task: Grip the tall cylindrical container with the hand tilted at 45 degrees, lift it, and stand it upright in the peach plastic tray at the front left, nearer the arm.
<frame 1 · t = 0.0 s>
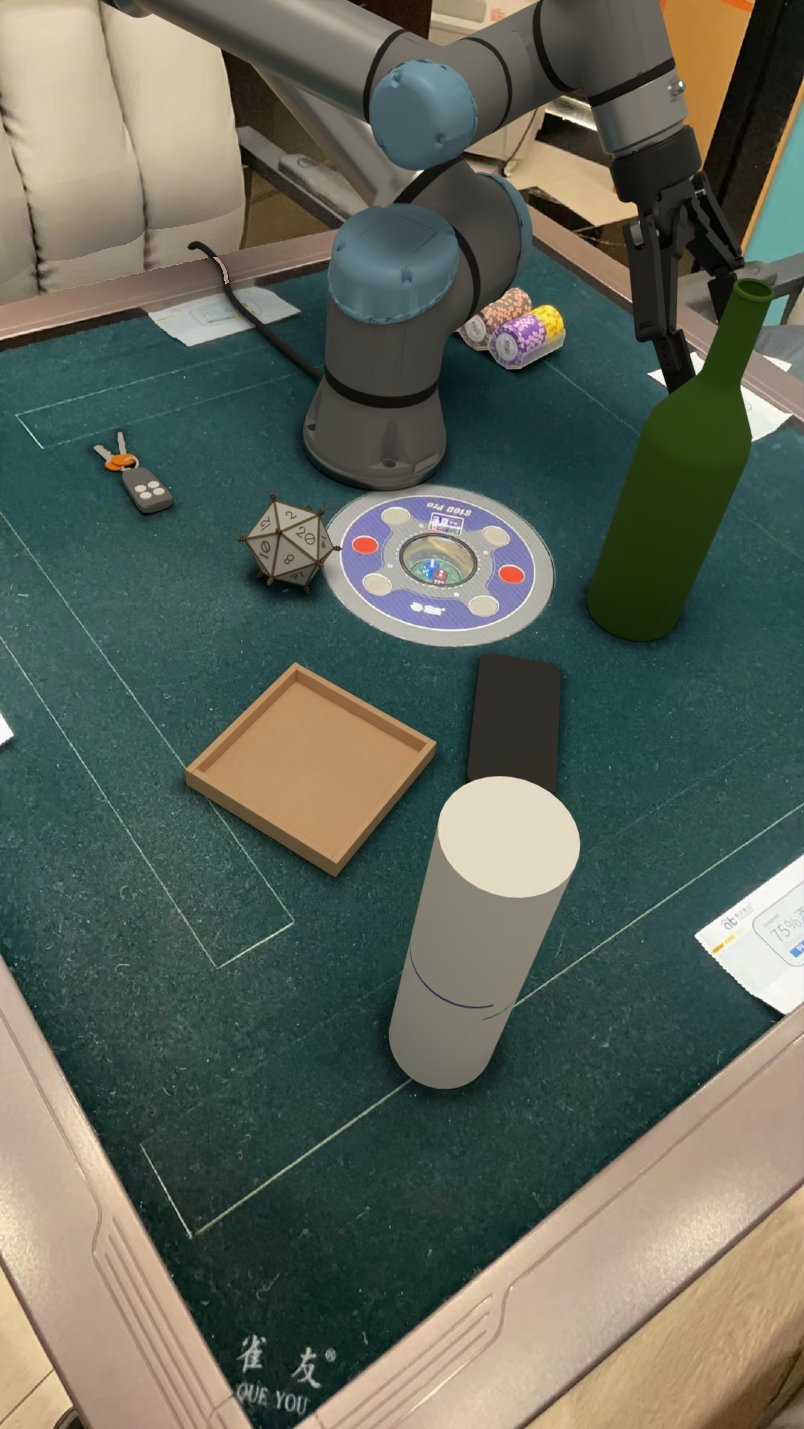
hand: (714, 370, 101), 15 cm above the table, tool tilted 35°, fingers open, 13 cm apart
game die: (288, 577, 98), on the table
cylindrical container: (440, 1037, 71), on the table
wine bottle: (630, 610, 101), on the table
tray: (313, 770, 84), on the table
phone: (514, 728, 89), on the table
key chain: (131, 475, 105), on the table
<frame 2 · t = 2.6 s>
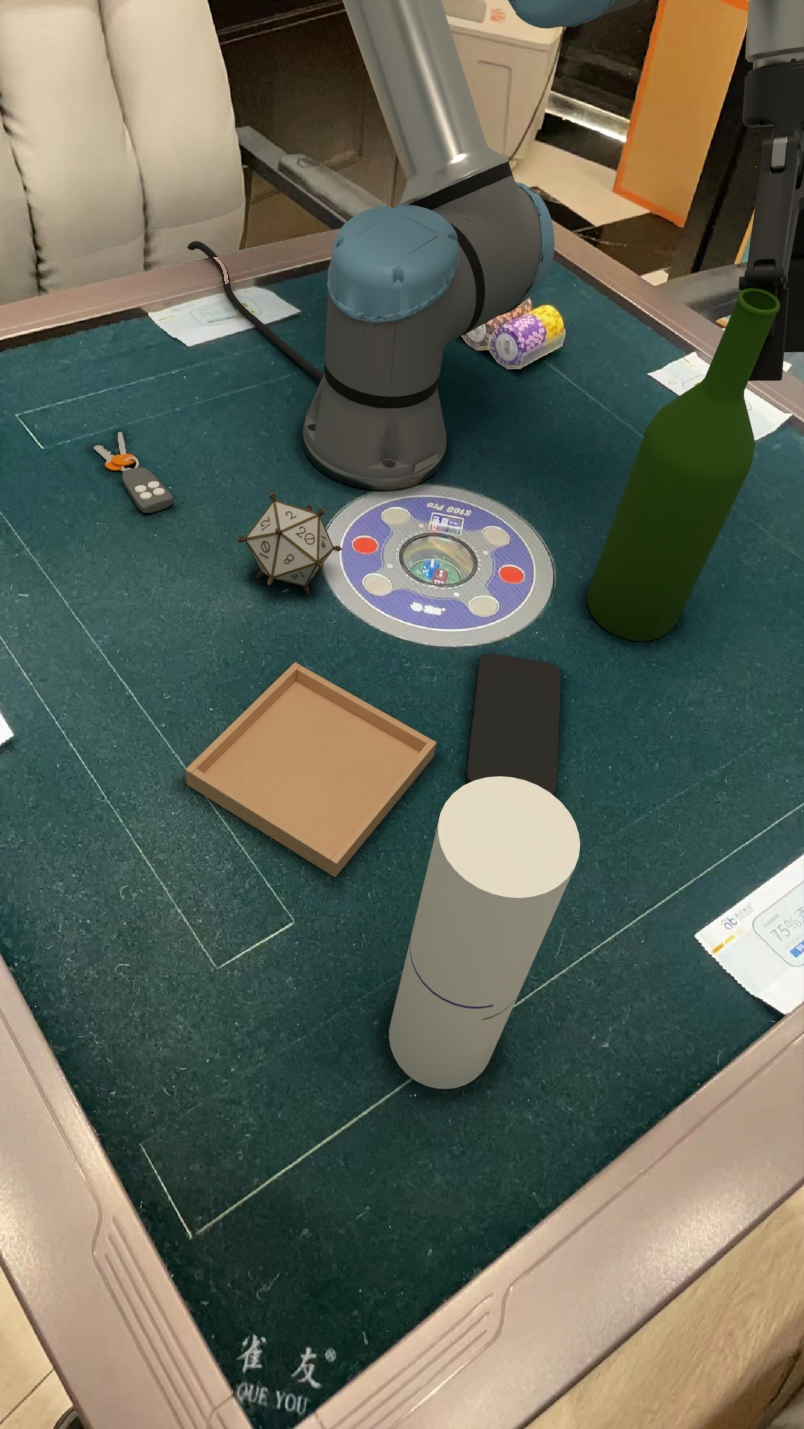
hand: (776, 365, 86), 24 cm above the table, tool tilted 25°, fingers open, 13 cm apart
wine bottle: (631, 608, 100), on the table, touching gripper
everything else where it was.
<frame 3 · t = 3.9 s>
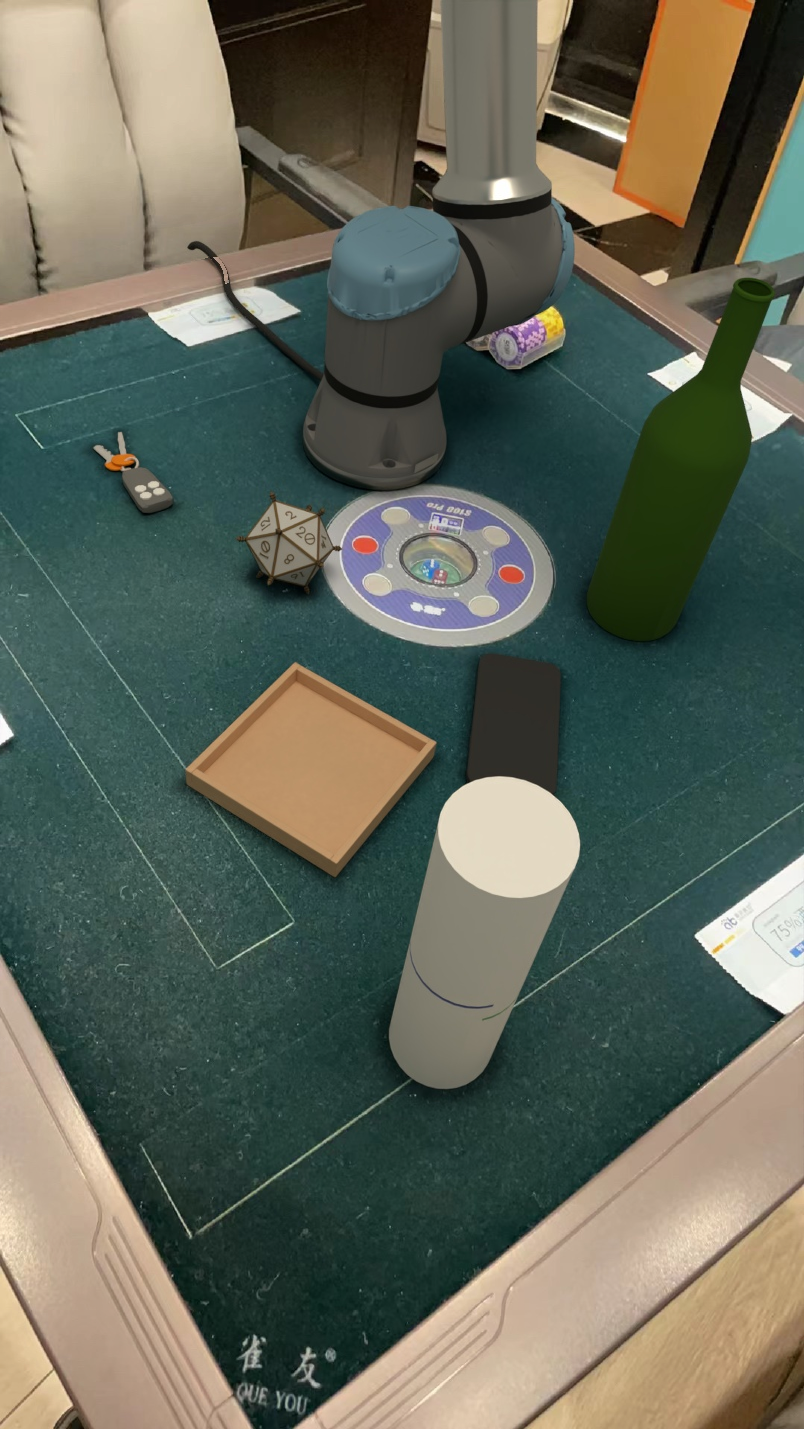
wine bottle: (630, 610, 101), on the table
everything else where it was.
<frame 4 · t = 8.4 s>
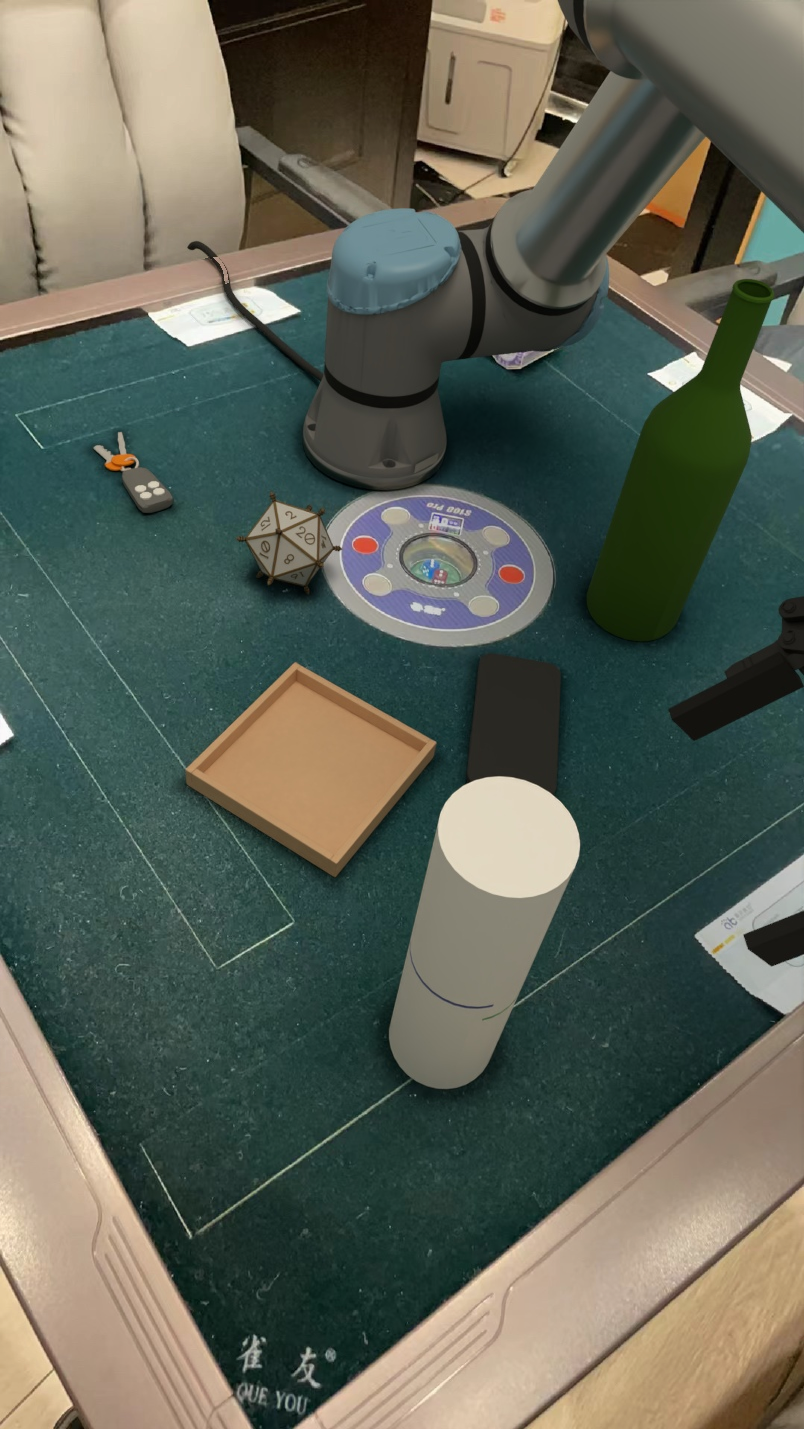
hand: (715, 829, 53), 25 cm above the table, tool tilted 45°, fingers open, 13 cm apart
nothing on the table moved.
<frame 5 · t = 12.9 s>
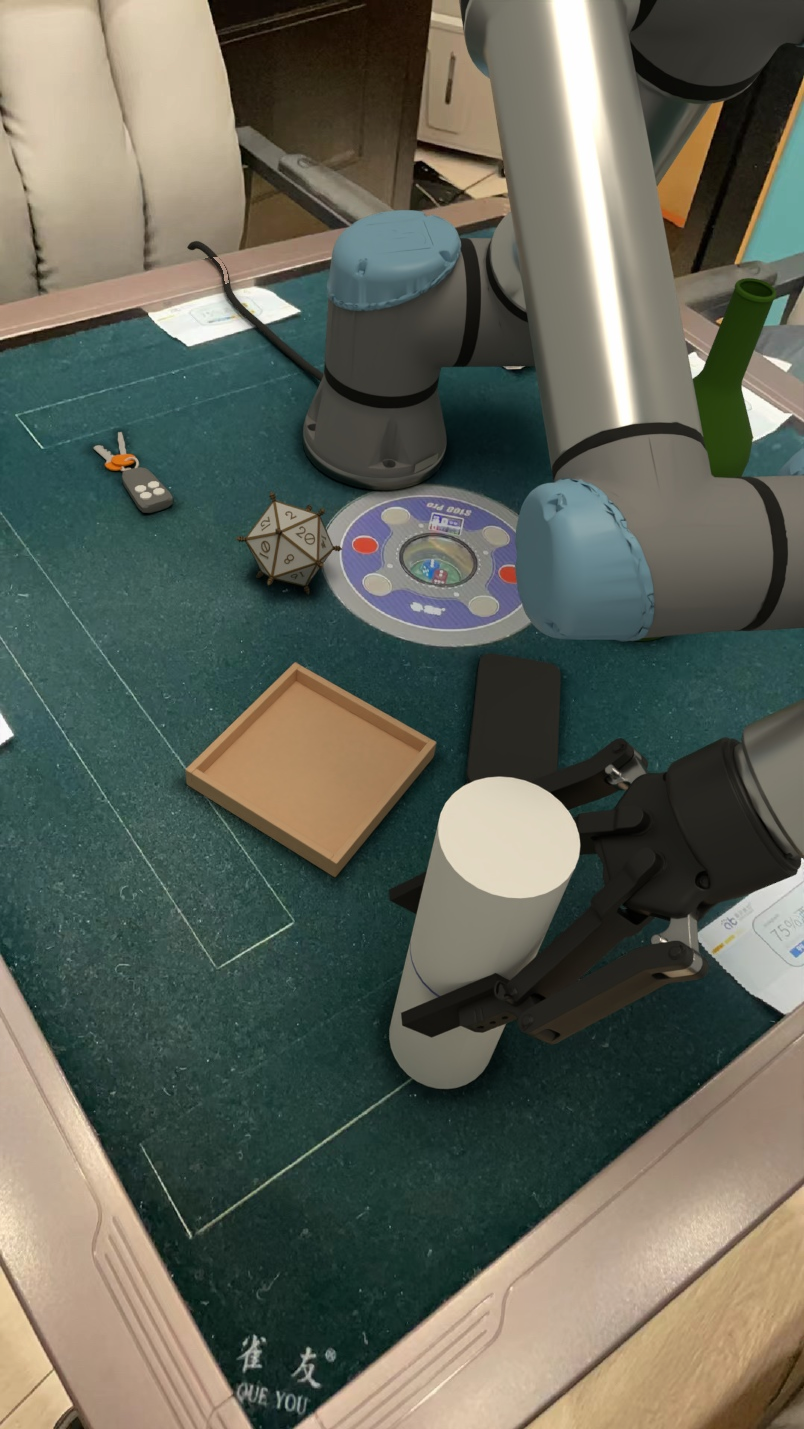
hand: (409, 961, 62), 12 cm above the table, tool tilted 45°, fingers closed on cylindrical container, 7 cm apart
cylindrical container: (441, 1037, 71), on the table, touching gripper
everything else where it was.
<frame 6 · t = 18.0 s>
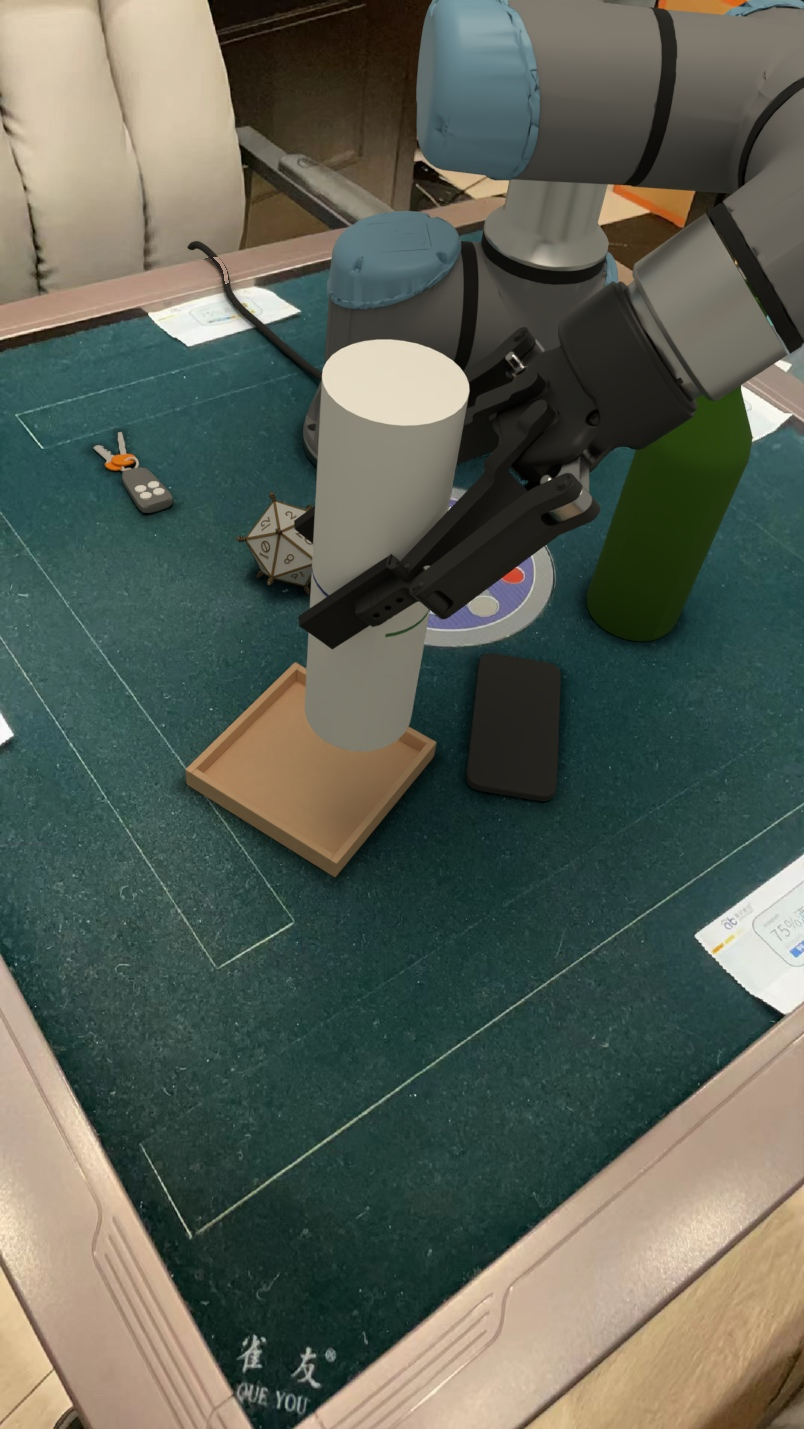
hand: (313, 583, 60), 26 cm above the table, tool tilted 45°, fingers closed on cylindrical container, 7 cm apart
cylindrical container: (358, 710, 70), point 14 cm above the table, touching gripper
everything else where it was.
when the fingers open (12 cm above the table, at t = 23.2 s): cylindrical container stays where it is, resting on tray.
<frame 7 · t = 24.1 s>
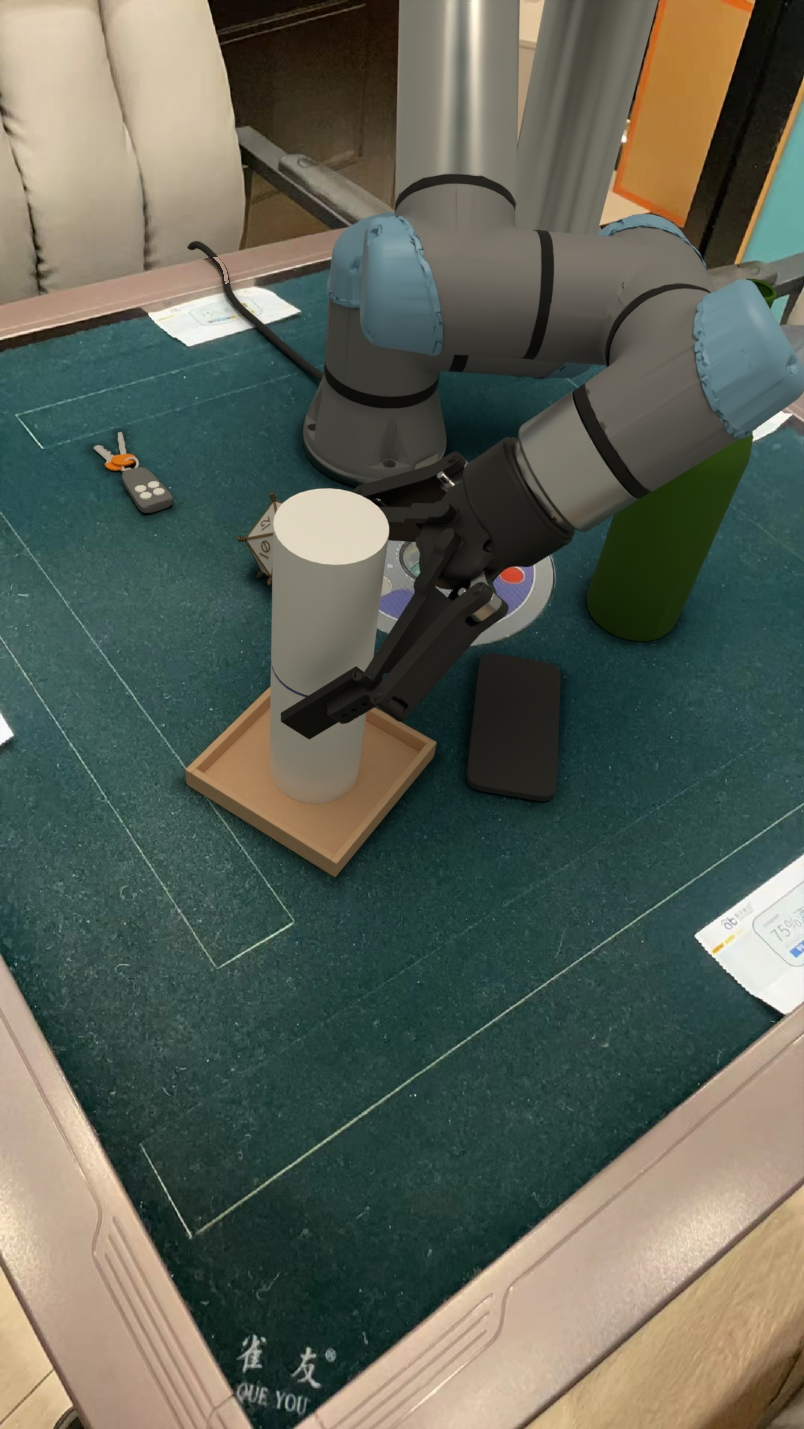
hand: (291, 650, 73), 14 cm above the table, tool tilted 45°, fingers open, 13 cm apart
cylindrical container: (314, 768, 84), resting on tray
everything else where it was.
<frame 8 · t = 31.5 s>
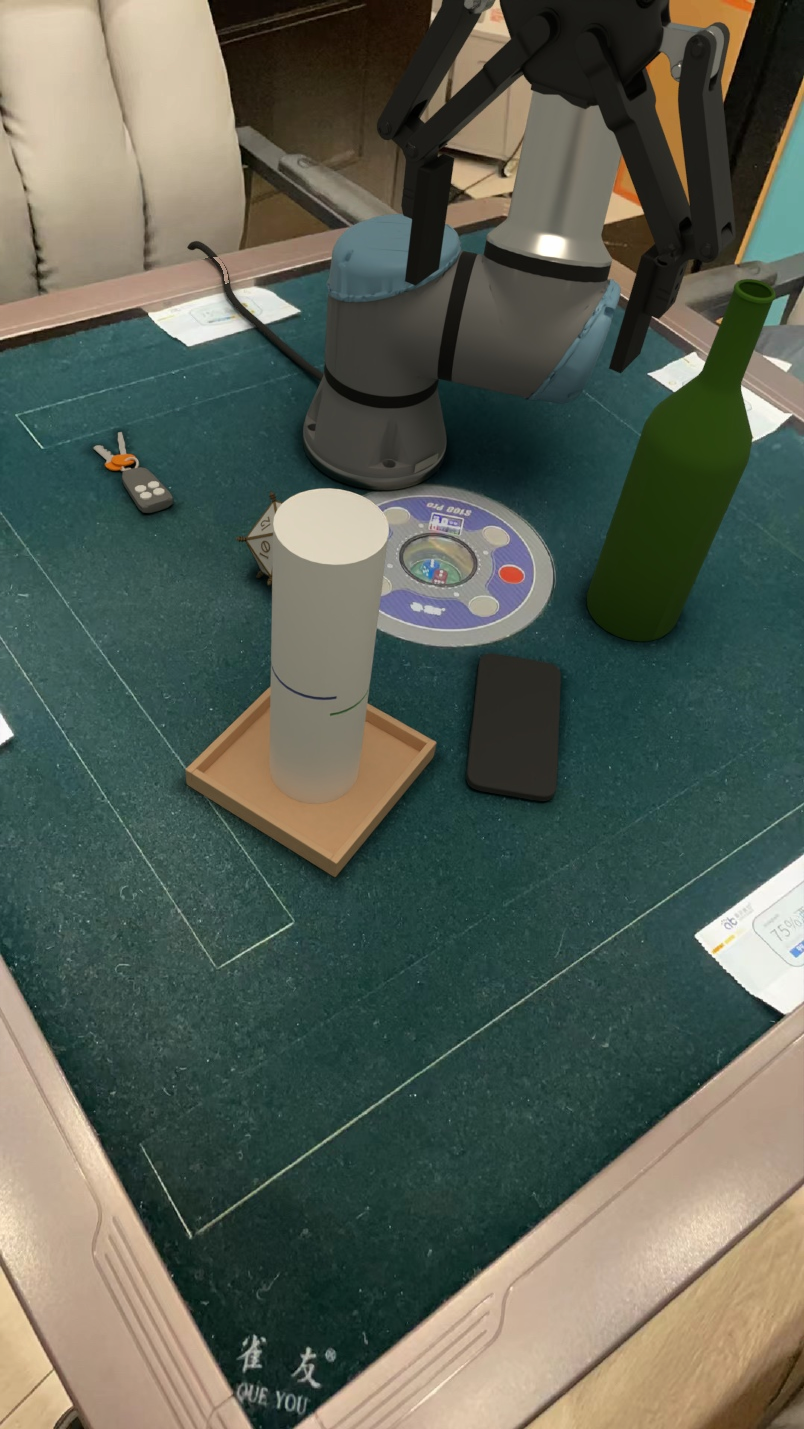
hand: (520, 317, 61), 37 cm above the table, tool pointing down, fingers open, 13 cm apart
nothing on the table moved.
at the end: cylindrical container inside the target area in the tray (0.1 cm from its centre), point 0.3 cm above the tray's base; cylindrical container tilted 0°; the gripper is holding nothing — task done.
